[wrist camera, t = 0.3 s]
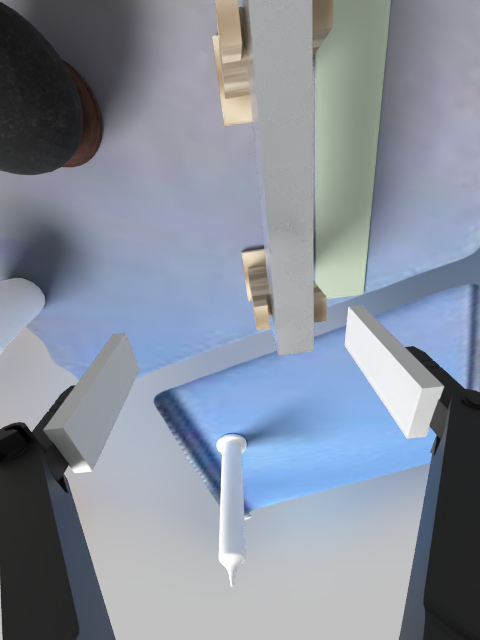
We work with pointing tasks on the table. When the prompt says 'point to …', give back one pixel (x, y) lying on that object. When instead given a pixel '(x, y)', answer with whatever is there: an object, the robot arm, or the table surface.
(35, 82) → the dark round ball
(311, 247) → the rail
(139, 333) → the table surface
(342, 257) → the mat
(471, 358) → the table surface
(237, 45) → the cradle posts
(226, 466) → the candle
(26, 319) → the foam cup
